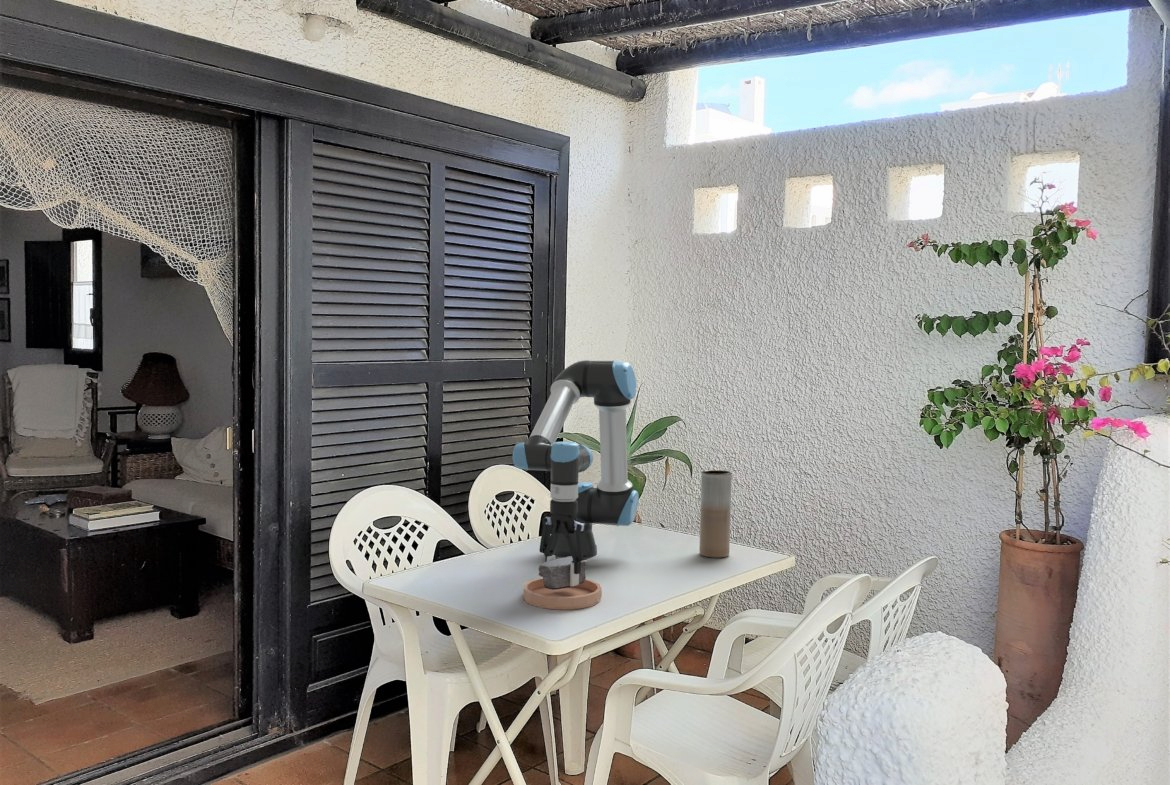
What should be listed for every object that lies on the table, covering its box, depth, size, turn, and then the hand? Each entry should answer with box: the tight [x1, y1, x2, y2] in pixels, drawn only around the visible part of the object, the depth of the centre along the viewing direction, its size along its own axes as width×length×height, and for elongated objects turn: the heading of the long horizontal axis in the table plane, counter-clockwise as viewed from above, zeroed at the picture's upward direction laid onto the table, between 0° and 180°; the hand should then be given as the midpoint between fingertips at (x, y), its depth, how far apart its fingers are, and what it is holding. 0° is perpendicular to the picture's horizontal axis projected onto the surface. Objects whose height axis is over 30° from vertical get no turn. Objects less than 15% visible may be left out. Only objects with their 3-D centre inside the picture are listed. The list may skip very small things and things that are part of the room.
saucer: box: [522, 577, 603, 611], centre depth 241 cm, size 21×21×3 cm
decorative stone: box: [538, 556, 587, 590], centre depth 241 cm, size 15×7×10 cm
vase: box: [698, 469, 733, 559], centre depth 294 cm, size 10×10×28 cm
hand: (562, 582), depth 241 cm, fingers closed on decorative stone, 8 cm apart
